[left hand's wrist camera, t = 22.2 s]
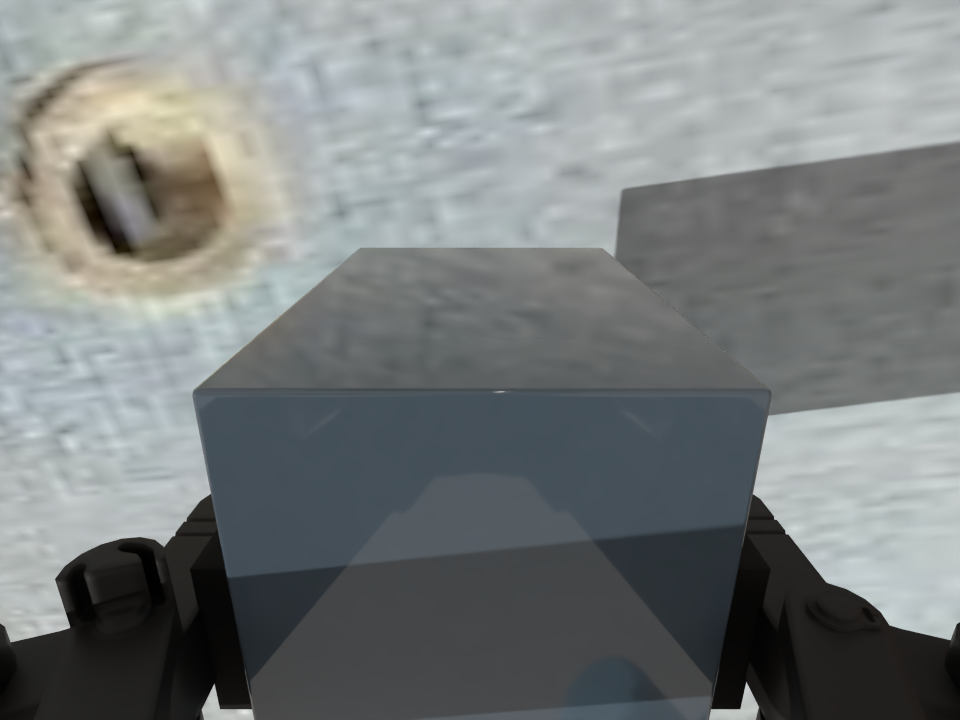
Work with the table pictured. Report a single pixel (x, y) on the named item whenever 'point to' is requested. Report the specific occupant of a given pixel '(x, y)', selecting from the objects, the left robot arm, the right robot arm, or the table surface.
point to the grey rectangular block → (481, 492)
